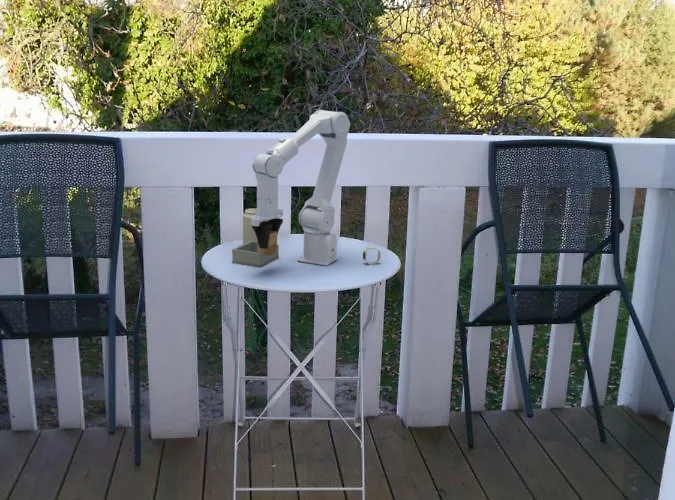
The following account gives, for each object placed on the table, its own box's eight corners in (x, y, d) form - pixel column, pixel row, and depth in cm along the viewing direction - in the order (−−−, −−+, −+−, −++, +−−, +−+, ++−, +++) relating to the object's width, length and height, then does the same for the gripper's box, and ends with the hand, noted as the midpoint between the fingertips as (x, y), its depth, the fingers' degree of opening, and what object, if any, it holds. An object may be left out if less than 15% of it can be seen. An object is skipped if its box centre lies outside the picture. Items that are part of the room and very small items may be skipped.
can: (263, 251, 225) (263, 213, 222) (239, 249, 226) (239, 211, 223) (269, 245, 232) (269, 208, 229) (246, 243, 233) (246, 206, 230)
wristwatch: (362, 262, 216) (362, 246, 215) (378, 262, 217) (378, 246, 216) (364, 265, 213) (365, 249, 212) (381, 264, 214) (381, 248, 213)
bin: (278, 257, 218) (278, 244, 217) (260, 267, 208) (260, 253, 207) (251, 253, 222) (251, 240, 221) (232, 262, 212) (232, 249, 211)
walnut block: (277, 252, 204) (277, 231, 202) (270, 255, 200) (270, 234, 199) (264, 250, 205) (264, 229, 204) (257, 253, 202) (257, 232, 200)
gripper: (267, 204, 191) (267, 254, 194) (292, 195, 204) (292, 242, 207) (244, 201, 193) (244, 250, 197) (270, 192, 206) (270, 238, 210)
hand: (267, 246), depth 202 cm, fingers closed on walnut block, 4 cm apart
